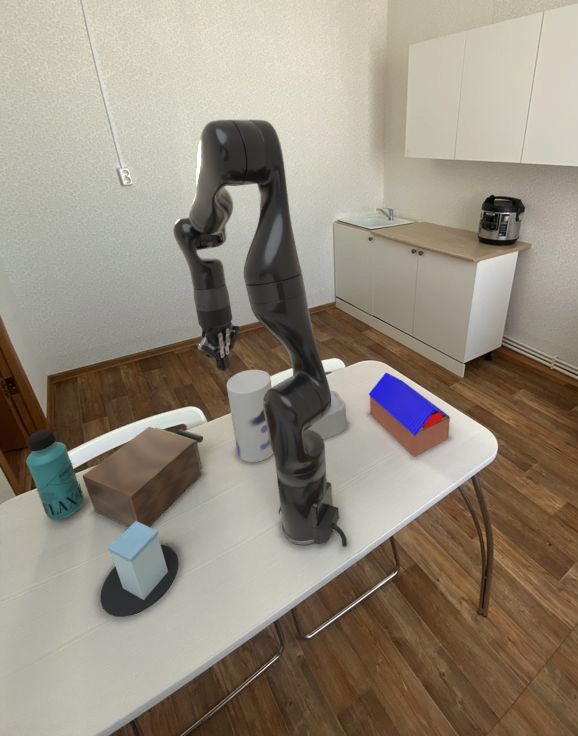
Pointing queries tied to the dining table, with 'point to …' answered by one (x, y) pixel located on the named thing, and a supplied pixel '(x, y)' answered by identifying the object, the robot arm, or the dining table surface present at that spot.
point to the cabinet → (143, 477)
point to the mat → (127, 603)
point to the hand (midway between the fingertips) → (223, 368)
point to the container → (250, 414)
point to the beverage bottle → (53, 475)
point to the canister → (139, 559)
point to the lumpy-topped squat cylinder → (332, 418)
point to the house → (408, 415)
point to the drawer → (191, 437)
